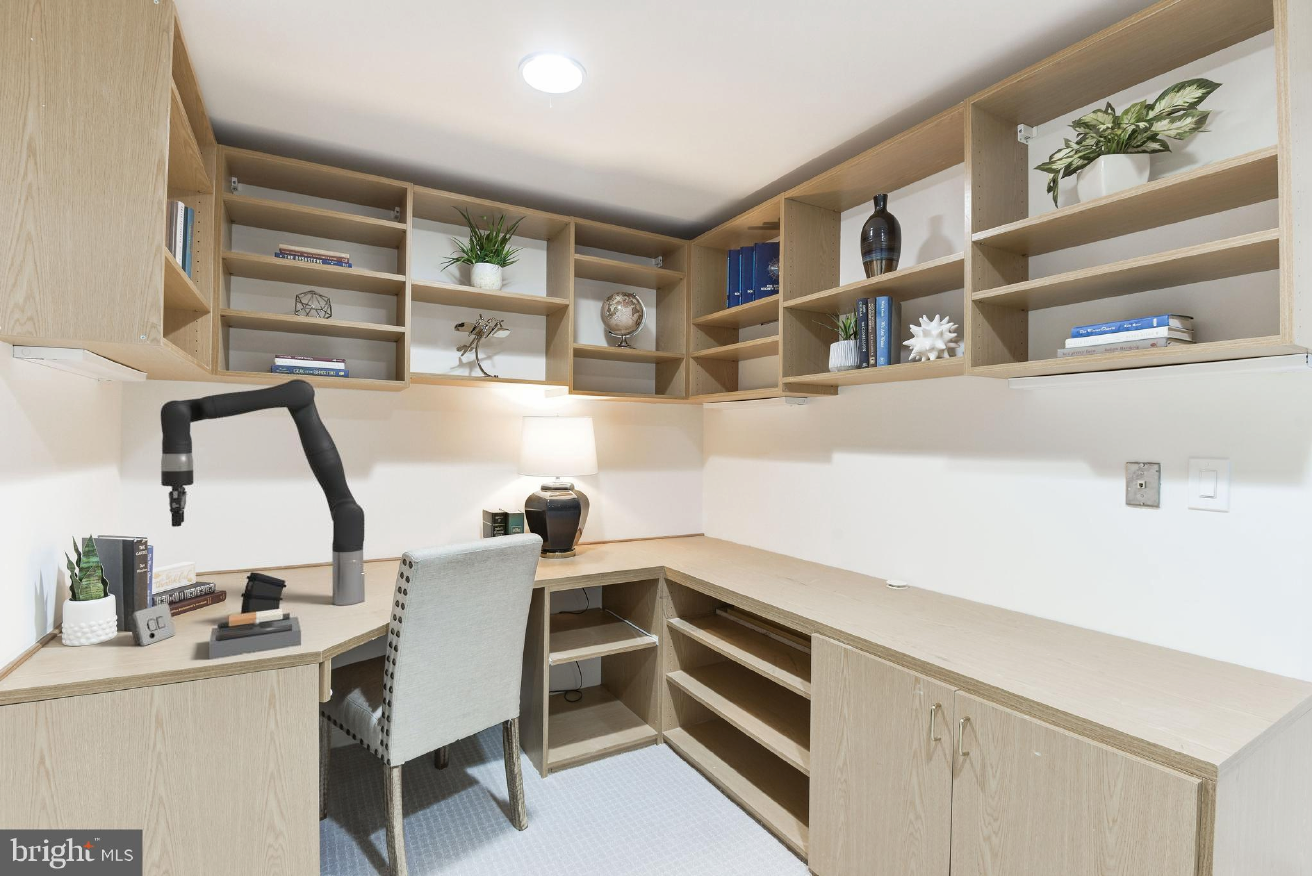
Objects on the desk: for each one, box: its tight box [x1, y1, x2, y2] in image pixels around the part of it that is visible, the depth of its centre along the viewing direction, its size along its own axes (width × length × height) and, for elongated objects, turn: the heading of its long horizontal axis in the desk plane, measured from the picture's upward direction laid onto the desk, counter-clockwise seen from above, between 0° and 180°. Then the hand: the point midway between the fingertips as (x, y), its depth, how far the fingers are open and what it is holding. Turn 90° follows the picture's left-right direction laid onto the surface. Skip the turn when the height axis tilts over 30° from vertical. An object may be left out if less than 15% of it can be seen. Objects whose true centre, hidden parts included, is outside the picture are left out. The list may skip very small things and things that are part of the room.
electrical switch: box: [127, 603, 177, 647], centre depth 173 cm, size 9×5×9 cm, turn 169°
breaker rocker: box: [228, 608, 284, 626], centre depth 170 cm, size 12×6×2 cm, turn 122°
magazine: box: [240, 571, 287, 614], centre depth 190 cm, size 4×13×15 cm, turn 164°
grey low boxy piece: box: [208, 612, 302, 660], centre depth 171 cm, size 20×14×6 cm
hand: (178, 524), depth 187 cm, fingers open, 8 cm apart
